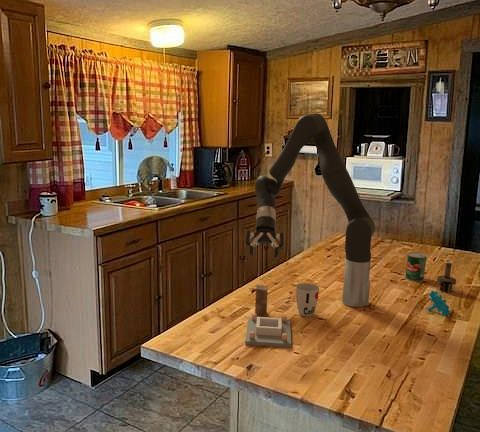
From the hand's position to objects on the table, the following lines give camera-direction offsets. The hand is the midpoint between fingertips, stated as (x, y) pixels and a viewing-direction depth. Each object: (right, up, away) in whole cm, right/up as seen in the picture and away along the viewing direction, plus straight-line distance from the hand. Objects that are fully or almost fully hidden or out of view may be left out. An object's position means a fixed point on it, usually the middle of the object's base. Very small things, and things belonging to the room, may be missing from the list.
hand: (263, 257), depth 184 cm
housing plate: (0, -23, -24) cm, 33 cm away
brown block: (-1, -19, -9) cm, 21 cm away
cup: (+15, -20, -7) cm, 26 cm away
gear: (+64, -20, -2) cm, 67 cm away
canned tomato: (+68, -13, +35) cm, 77 cm away
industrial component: (+76, -16, +22) cm, 81 cm away
